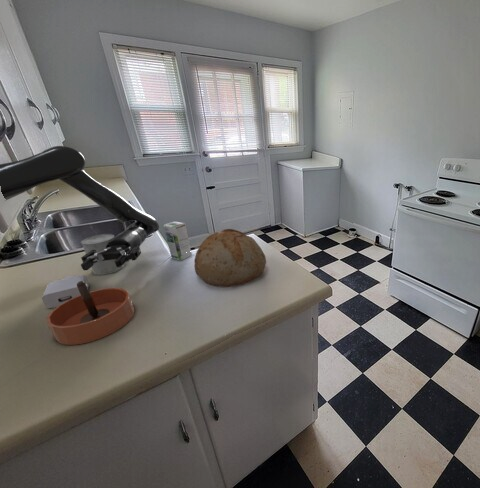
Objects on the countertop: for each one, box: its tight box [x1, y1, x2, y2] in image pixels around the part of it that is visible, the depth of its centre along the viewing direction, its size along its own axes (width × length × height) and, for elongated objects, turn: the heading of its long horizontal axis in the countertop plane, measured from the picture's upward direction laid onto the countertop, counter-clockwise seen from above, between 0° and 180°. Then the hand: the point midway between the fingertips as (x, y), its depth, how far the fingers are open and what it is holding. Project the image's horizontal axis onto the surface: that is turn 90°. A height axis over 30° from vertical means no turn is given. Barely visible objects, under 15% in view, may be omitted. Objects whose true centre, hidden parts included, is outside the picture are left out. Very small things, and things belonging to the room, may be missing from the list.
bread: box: [193, 228, 267, 288], centre depth 97 cm, size 26×23×15 cm
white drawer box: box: [41, 274, 90, 309], centre depth 87 cm, size 5×9×15 cm
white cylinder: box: [80, 233, 125, 276], centre depth 100 cm, size 10×10×12 cm
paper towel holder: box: [77, 281, 110, 324], centre depth 72 cm, size 6×6×12 cm
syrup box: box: [163, 221, 193, 261], centre depth 109 cm, size 6×6×14 cm
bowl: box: [46, 287, 135, 346], centre depth 74 cm, size 17×17×6 cm
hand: (100, 266), depth 78 cm, fingers open, 8 cm apart
